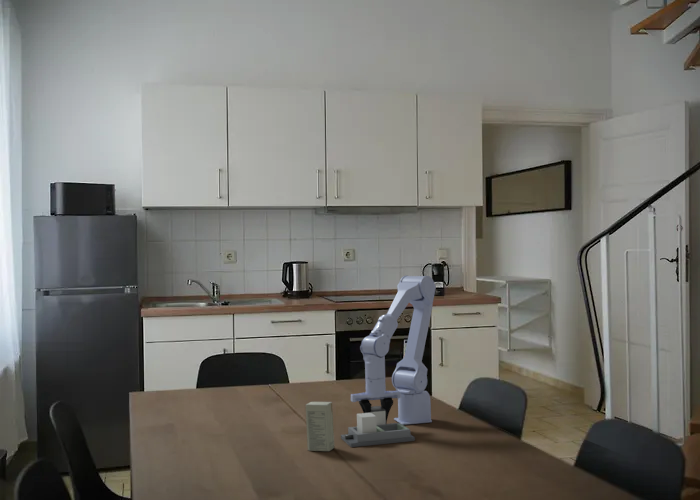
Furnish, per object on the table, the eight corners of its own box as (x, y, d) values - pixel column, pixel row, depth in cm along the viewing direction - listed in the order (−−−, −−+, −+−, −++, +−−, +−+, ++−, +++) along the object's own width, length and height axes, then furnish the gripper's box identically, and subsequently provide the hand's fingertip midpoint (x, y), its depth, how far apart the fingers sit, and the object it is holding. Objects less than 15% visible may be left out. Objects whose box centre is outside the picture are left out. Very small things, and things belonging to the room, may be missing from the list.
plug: (380, 428, 221) (379, 405, 221) (386, 431, 216) (385, 409, 216) (367, 429, 219) (366, 406, 219) (372, 433, 215) (372, 410, 215)
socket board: (402, 432, 214) (401, 407, 214) (414, 440, 205) (414, 415, 205) (340, 438, 209) (339, 413, 209) (350, 447, 200) (349, 420, 200)
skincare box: (335, 447, 200) (333, 401, 200) (329, 452, 196) (328, 404, 196) (312, 446, 202) (311, 400, 202) (306, 450, 198) (305, 403, 198)
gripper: (394, 373, 223) (395, 419, 223) (347, 377, 219) (348, 424, 219) (402, 377, 217) (403, 424, 217) (354, 381, 213) (355, 429, 213)
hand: (376, 424), depth 218 cm, fingers closed on plug, 4 cm apart
